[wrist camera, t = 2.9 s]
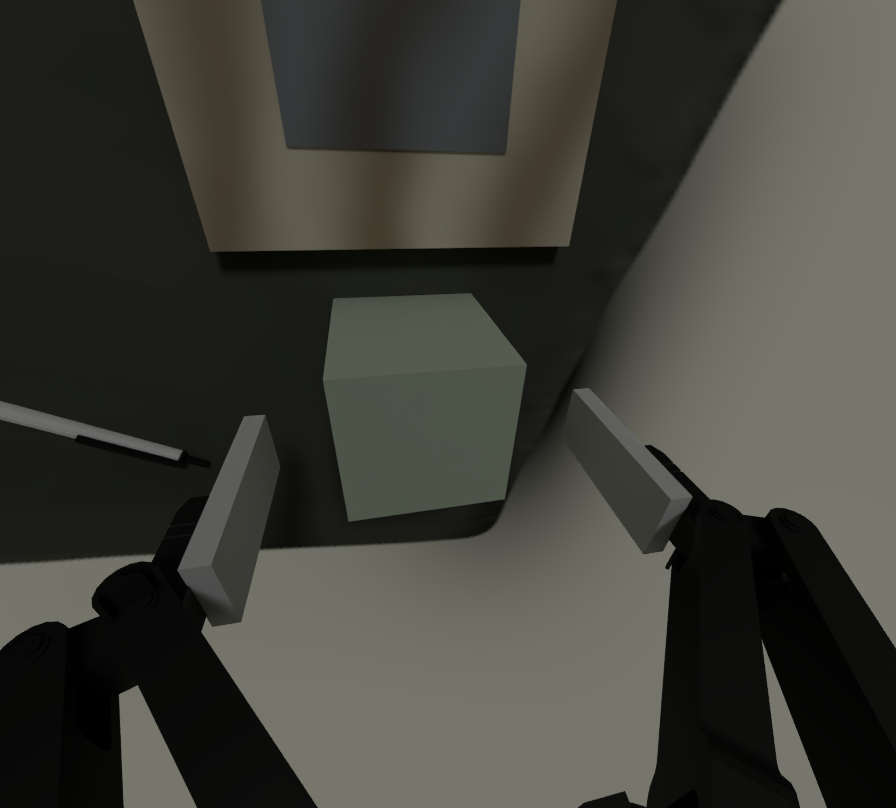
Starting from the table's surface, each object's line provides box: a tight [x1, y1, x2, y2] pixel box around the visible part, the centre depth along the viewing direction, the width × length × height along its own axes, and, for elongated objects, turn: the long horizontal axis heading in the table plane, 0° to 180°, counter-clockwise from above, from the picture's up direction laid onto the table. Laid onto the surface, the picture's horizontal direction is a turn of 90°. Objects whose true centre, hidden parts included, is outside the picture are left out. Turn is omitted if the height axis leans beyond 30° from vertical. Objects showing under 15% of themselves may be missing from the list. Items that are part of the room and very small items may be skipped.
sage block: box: [323, 293, 527, 521], centre depth 18 cm, size 7×7×8 cm
